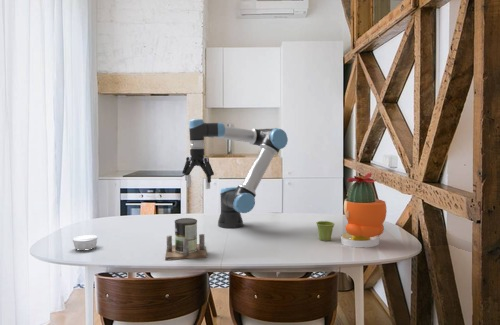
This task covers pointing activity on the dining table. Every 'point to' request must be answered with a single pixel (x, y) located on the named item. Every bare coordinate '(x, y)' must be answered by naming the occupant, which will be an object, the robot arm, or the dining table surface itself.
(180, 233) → the coffee can
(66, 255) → the dining table surface
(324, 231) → the plant pot
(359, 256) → the dining table surface
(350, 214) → the potted cactus
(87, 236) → the ramekin
